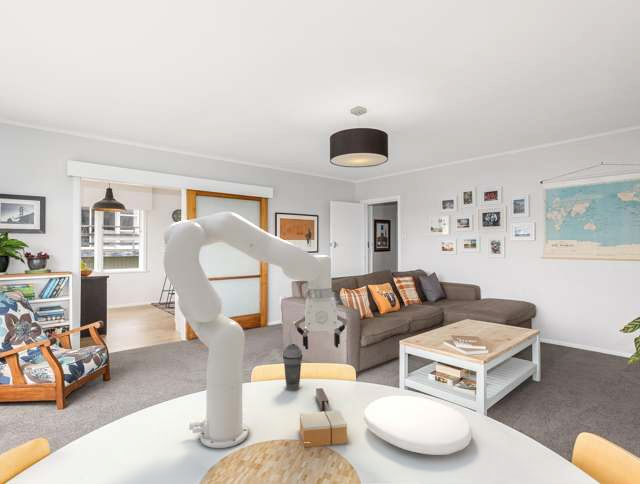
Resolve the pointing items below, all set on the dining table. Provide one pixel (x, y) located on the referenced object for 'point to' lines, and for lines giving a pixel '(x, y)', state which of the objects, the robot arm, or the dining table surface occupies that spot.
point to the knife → (322, 399)
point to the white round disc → (418, 425)
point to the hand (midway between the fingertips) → (321, 347)
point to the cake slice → (337, 427)
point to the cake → (315, 429)
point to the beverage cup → (292, 365)
